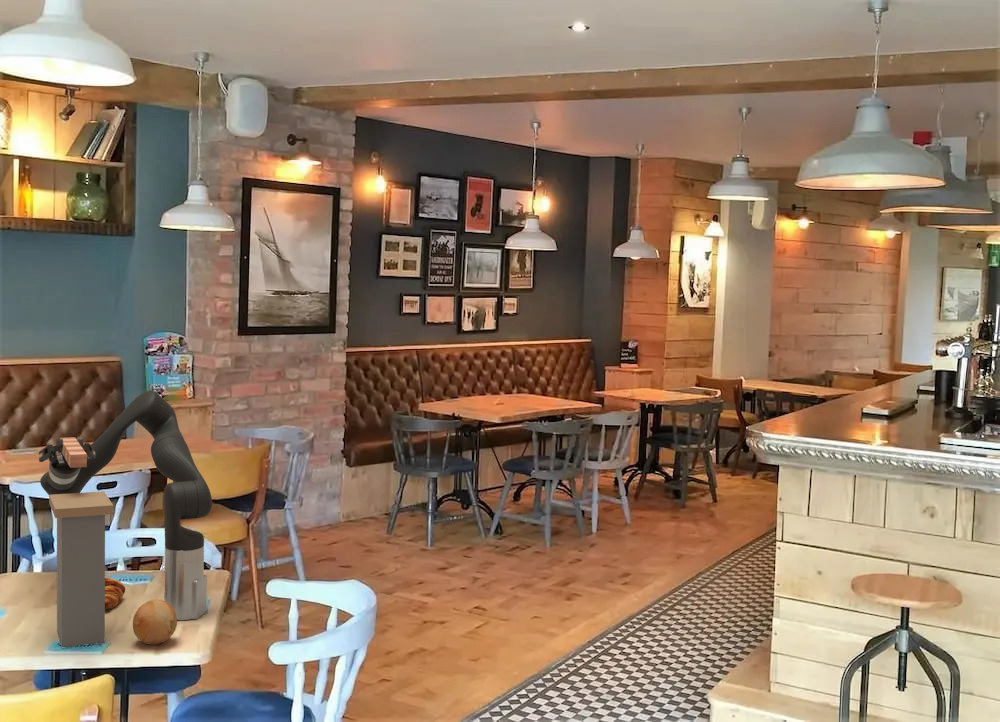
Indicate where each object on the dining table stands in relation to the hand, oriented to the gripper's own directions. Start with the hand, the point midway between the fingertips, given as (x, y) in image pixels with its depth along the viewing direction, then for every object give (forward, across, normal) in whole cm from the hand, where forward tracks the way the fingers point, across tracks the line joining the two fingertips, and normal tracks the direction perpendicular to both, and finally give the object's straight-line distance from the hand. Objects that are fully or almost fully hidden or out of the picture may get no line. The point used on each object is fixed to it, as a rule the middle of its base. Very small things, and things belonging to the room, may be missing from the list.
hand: (70, 442), depth 256 cm
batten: (+3, 0, +5) cm, 6 cm away
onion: (+7, +15, +53) cm, 55 cm away
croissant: (-24, +8, +35) cm, 43 cm away
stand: (-1, 0, +48) cm, 48 cm away
